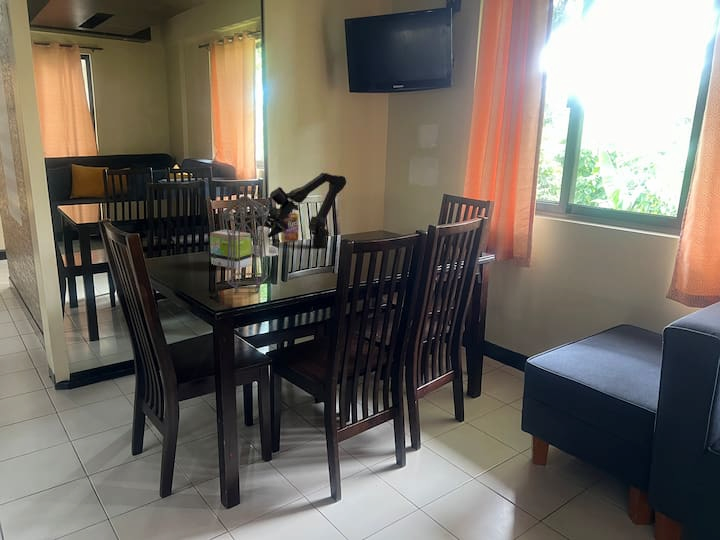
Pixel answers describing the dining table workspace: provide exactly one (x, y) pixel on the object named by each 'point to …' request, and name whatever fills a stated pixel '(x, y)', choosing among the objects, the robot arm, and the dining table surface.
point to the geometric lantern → (227, 212)
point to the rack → (272, 252)
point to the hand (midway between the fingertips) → (264, 235)
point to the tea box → (221, 249)
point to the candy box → (291, 228)
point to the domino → (266, 233)
